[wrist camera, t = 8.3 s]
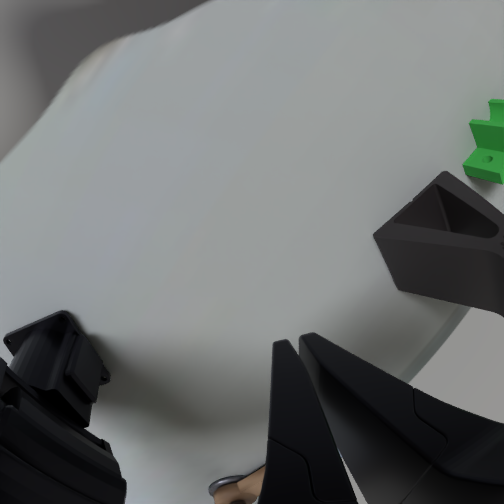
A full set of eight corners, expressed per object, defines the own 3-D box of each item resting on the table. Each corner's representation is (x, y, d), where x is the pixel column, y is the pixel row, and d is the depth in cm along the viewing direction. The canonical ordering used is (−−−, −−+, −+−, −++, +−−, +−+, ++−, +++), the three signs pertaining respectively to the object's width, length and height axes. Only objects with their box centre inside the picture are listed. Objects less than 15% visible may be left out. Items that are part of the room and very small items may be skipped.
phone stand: (395, 287, 25) (498, 367, 14) (371, 234, 23) (499, 310, 12) (460, 225, 25) (563, 274, 14) (443, 170, 23) (567, 207, 12)
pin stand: (219, 499, 31) (227, 530, 27) (200, 484, 29) (208, 518, 24) (260, 486, 32) (271, 516, 27) (246, 470, 29) (258, 504, 25)
